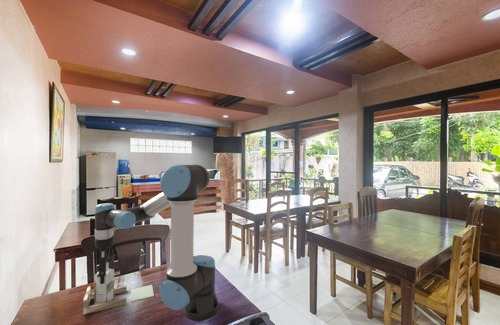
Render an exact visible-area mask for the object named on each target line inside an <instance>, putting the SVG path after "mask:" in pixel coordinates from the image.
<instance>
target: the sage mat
mask: <svg viewBox="0 0 500 325" xmlns="http://www.w3.org/2000/svg"><path fill="white" fill-rule="evenodd" d="M154 297H155V293H154V288H153V284H150V285H145V286H140V287H136V288H131V289H130V302H131V303H133V302H136V301H141V300H144V299H149V298H154Z"/></svg>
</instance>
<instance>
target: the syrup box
mask: <svg viewBox="0 0 500 325" xmlns="http://www.w3.org/2000/svg"><path fill="white" fill-rule="evenodd" d="M97 275H99V271H97V273H95V274H94V288H93V289H94V292H93V293H94V299H93V300H94V301H93V305H95V304H100V303H104V302H108V301H113V300H114V298H115V297H114V296H115V294H114V288H115V269H114V268H109V269H108V268H107V269H106V290H102V291H99V277H97Z"/></svg>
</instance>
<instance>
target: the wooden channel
mask: <svg viewBox="0 0 500 325" xmlns="http://www.w3.org/2000/svg"><path fill="white" fill-rule="evenodd" d="M91 287H92V286H91V285H88V286H87V288H86V292H85V294H84V297H83V300H82V305H83V307H82V308H83V310H82V314H83V315H87V314H90V313H96V312H100V311H104V310H107V309H111V308H116V307H120V306H125V305H127V297H125V296H124V297H122V298H121V297H120V298H118V299H112V300H111V301H108V302H104V303H100V304H95V305H94V304H92V305H90V302H91V300H94V292H92V288H91ZM126 292H127V285H123V286H119V287H118V286H117V287H114V295H118V294H122V293H126Z"/></svg>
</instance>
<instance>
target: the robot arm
mask: <svg viewBox="0 0 500 325" xmlns="http://www.w3.org/2000/svg"><path fill="white" fill-rule="evenodd" d="M210 180H211V178H210V173H209V171H208V169H207V168H206V167H204V166H203V165H200V164H176V165H172V166H169V167H167V168H166V170H164V171H163V172H162V175H161V177H160V180H159V184H160V185H159V187H160V190H161V191H162V192H160V193H158V194H157V195H155V196H153V197H152V198H150V199H149V200H147V201H146V202H144V203H143V204H141V205H139V206H135V207H134V206H133V207H129V208H125V209H116V208H115V204H114V203H112V202H111V203H110V202H106V203H100V204H97V205H96V206H95V210H94V238H95V239H94V247H95V248H97V249H99V251H98V261H99V262H98V266H99V267H98V272H99V275H97V277H99V291H102V290H106V269H107V268H108V269H110V267H109V266H110V265H109V263H110V262H111V258H110V256H109V255H110V250H111V249H110V247H112V246H113V245H114V242H115V237H114V235H115V234H114V232H116V228H118V229H121V230H122V229H125V230H127V229H131V227H133V226H134V224H137V223H140V222H144V221H149V220H151V219H153V218H154V217H155V216H156V215H157V214H159V213H160V212H162V211H164V210H165V209H168V208H169V207H170V265H169V267H168V268H167V269H166V273H165V275H166V276H165V277H166V279H165V280H164V281H163V282H162V283H161V285H160V286H159V296H160V299H161V301H162V302H163V303H164V305H165V306H166V307H167V308H169V309H170V310H172V311H179V310H181V309H183V313H184V315H185V317H186V318H188V319H190V320H193V321H202V320H203V321H204V320H207V319H209V318H212V317H213V316H215V314H217V313H218V311H219V298H218V296H217V293H216V288H215V287H216V286H215V284H216V261H215V258H214V257H212V256H209V255H207V254H206V255H205V254H204V255H201V254H200V255H199V254H198V255H194V232H195V230H194V228H195V227H194V225H195V224H194V223H195V222H194V219H195V218H194V215H195V209H194V208H195V207H194V206H195V205H194V204H195V203H196V202H197V201H198V199H199V197H198V196H199V192H202V191H204V190H205V189H206V188H207V187H208V186H209V184H210Z"/></svg>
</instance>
